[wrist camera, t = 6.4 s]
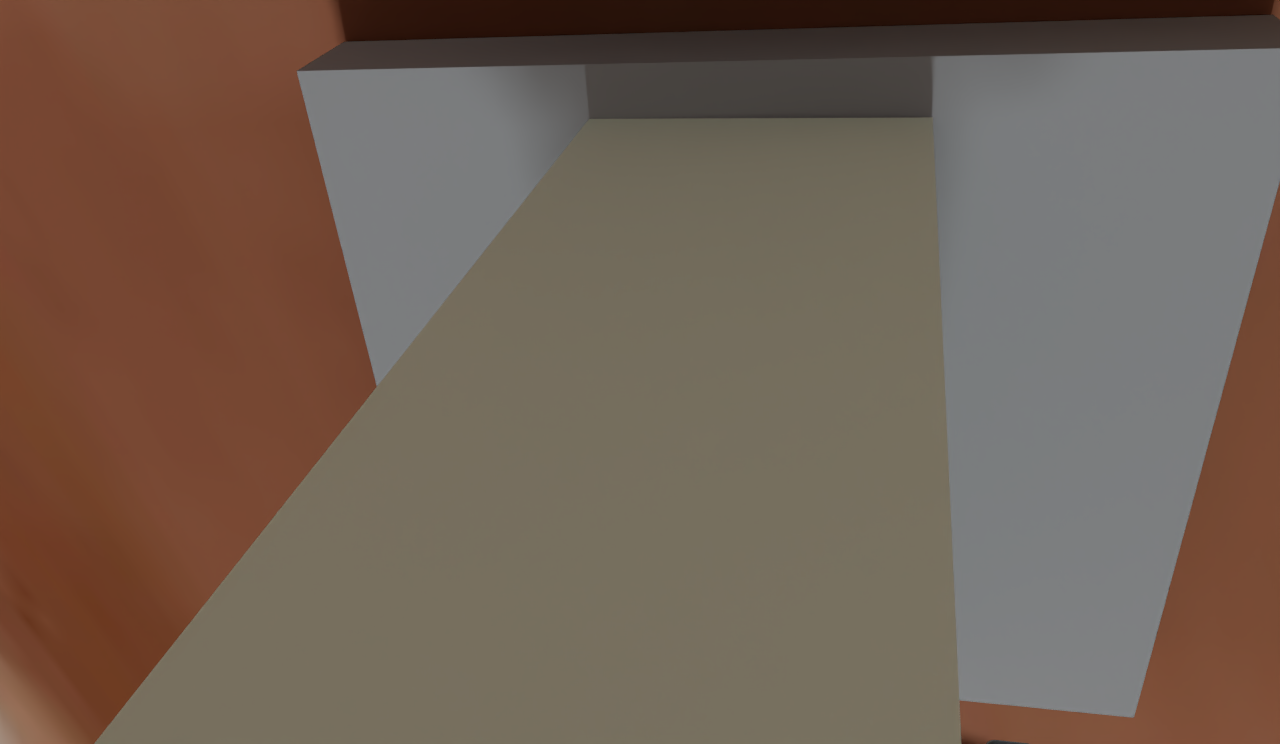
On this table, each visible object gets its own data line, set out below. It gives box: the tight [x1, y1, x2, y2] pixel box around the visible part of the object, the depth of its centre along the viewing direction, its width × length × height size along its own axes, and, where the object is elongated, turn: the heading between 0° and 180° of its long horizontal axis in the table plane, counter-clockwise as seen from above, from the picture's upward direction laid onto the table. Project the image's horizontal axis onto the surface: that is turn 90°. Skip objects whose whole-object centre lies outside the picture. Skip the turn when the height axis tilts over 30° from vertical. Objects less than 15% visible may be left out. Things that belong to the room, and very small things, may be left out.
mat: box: [297, 15, 1280, 718], centre depth 13 cm, size 10×9×1 cm
